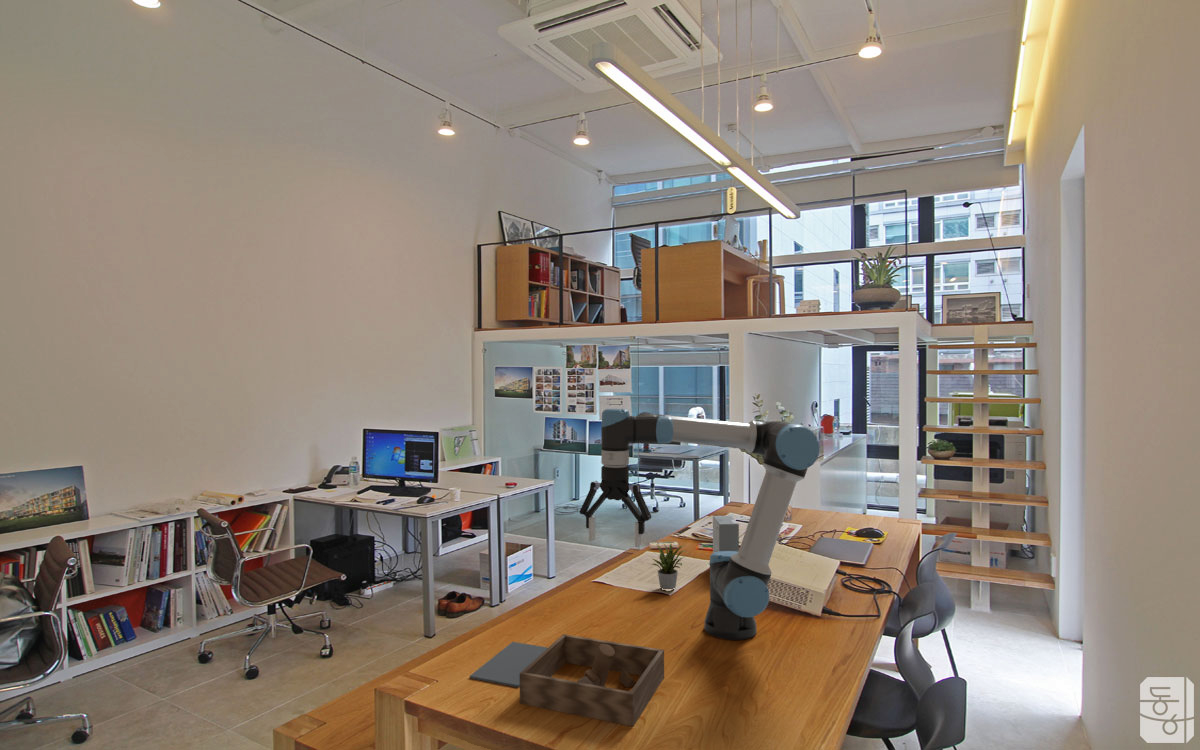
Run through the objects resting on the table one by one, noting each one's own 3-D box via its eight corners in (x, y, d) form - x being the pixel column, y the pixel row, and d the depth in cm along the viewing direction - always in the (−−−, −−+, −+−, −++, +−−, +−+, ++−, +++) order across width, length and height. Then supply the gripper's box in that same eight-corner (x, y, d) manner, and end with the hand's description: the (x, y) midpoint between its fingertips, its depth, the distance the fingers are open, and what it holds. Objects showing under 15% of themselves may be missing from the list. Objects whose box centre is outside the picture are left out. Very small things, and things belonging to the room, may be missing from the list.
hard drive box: (739, 578, 241) (739, 524, 241) (719, 578, 241) (718, 524, 241) (731, 565, 257) (731, 514, 256) (712, 565, 257) (711, 515, 256)
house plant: (698, 586, 232) (698, 541, 232) (681, 598, 220) (681, 550, 220) (662, 580, 240) (662, 535, 239) (644, 591, 228) (644, 544, 228)
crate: (664, 677, 164) (663, 649, 164) (633, 726, 142) (632, 694, 142) (563, 660, 174) (563, 634, 174) (519, 703, 152) (519, 673, 152)
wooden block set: (582, 721, 149) (593, 686, 146) (557, 694, 154) (568, 661, 151) (633, 689, 162) (644, 656, 159) (609, 665, 167) (619, 634, 164)
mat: (557, 651, 180) (557, 649, 180) (518, 687, 160) (518, 685, 160) (512, 643, 185) (512, 641, 185) (469, 678, 165) (469, 675, 165)
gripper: (567, 464, 179) (567, 541, 179) (654, 470, 169) (653, 551, 170) (579, 460, 186) (579, 535, 186) (662, 466, 176) (662, 544, 176)
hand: (614, 543), depth 178 cm, fingers open, 13 cm apart
